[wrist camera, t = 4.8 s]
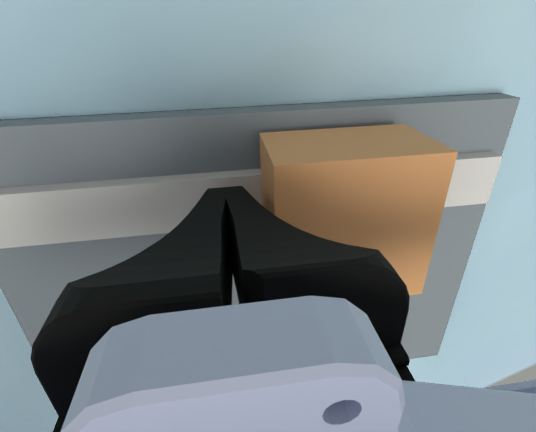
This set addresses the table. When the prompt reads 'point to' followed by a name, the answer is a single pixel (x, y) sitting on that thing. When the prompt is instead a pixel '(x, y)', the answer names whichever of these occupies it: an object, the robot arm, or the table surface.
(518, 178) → the table surface
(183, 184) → the plate
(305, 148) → the leg
